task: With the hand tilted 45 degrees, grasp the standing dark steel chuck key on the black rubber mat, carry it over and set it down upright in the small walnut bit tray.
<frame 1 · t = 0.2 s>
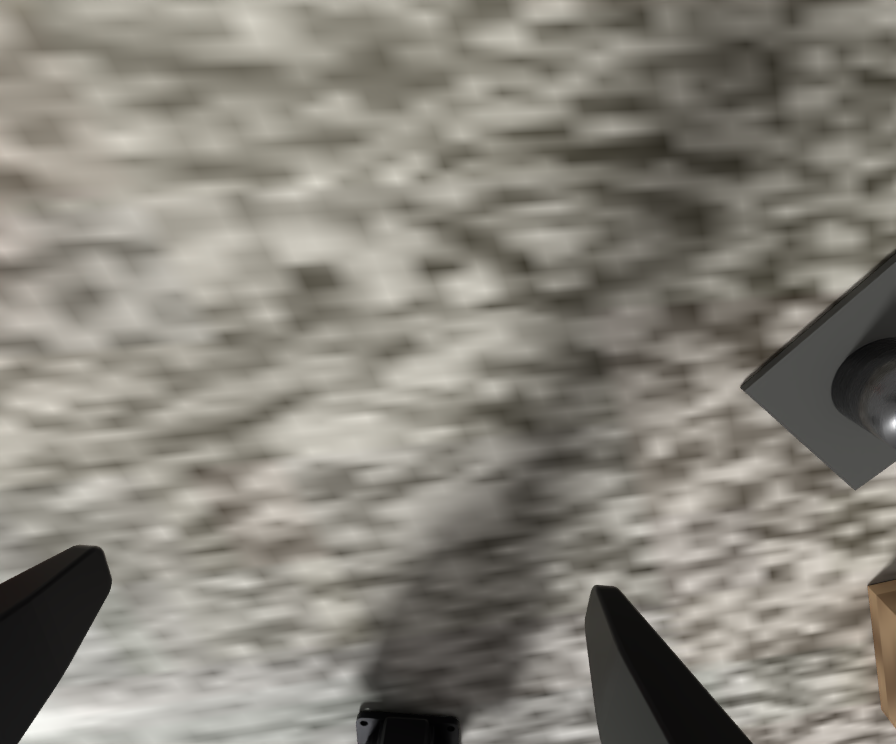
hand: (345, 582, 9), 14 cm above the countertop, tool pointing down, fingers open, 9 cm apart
chuck key: (880, 381, 22), resting on mat
mat: (873, 377, 22), on the countertop
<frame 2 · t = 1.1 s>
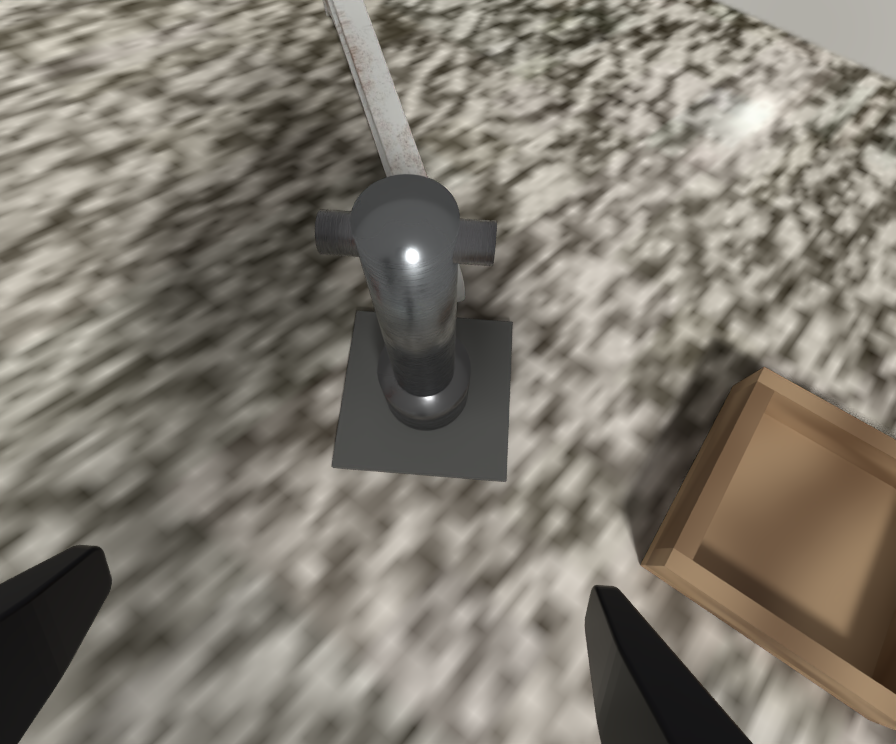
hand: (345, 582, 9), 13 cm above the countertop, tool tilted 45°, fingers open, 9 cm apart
tray: (793, 534, 22), on the countertop
chuck key: (426, 390, 24), resting on mat
wrench: (375, 115, 31), on the countertop
mat: (427, 392, 24), on the countertop
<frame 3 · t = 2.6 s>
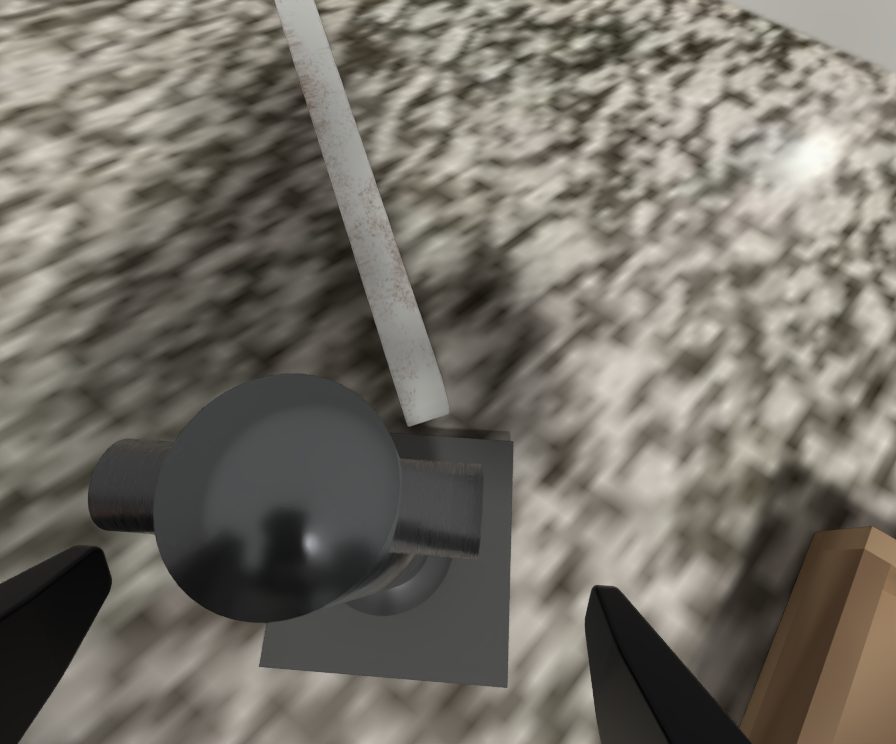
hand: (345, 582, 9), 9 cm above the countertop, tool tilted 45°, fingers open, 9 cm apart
chuck key: (396, 545, 17), resting on mat
wrench: (340, 158, 25), on the countertop
mat: (397, 545, 18), on the countertop
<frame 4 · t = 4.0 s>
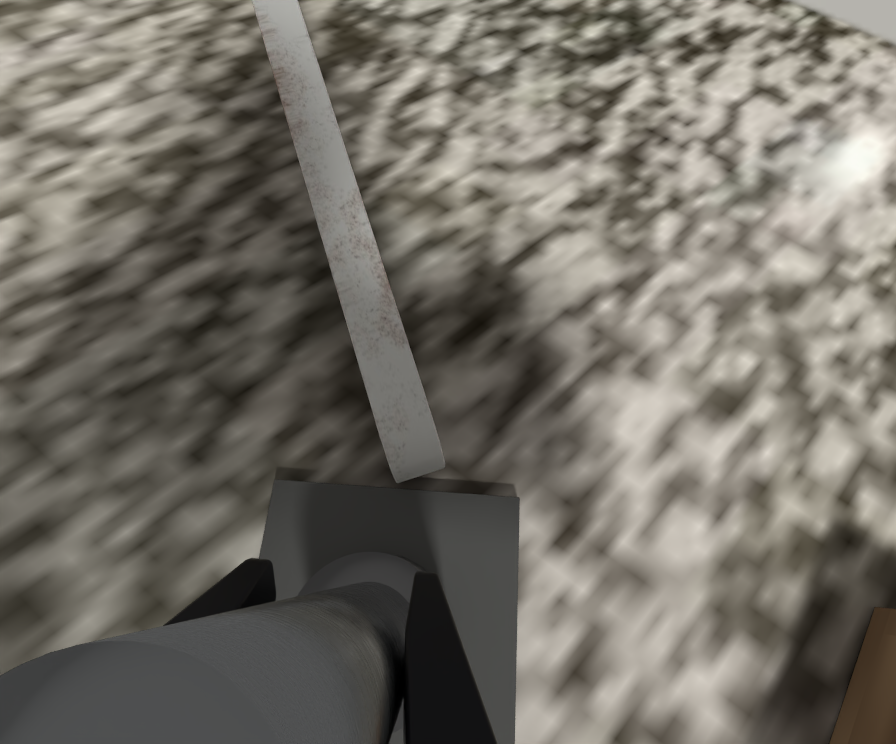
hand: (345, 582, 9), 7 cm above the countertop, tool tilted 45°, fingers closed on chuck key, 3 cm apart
chuck key: (381, 625, 15), resting on mat, touching gripper
wrench: (325, 162, 22), on the countertop
mat: (383, 624, 15), on the countertop
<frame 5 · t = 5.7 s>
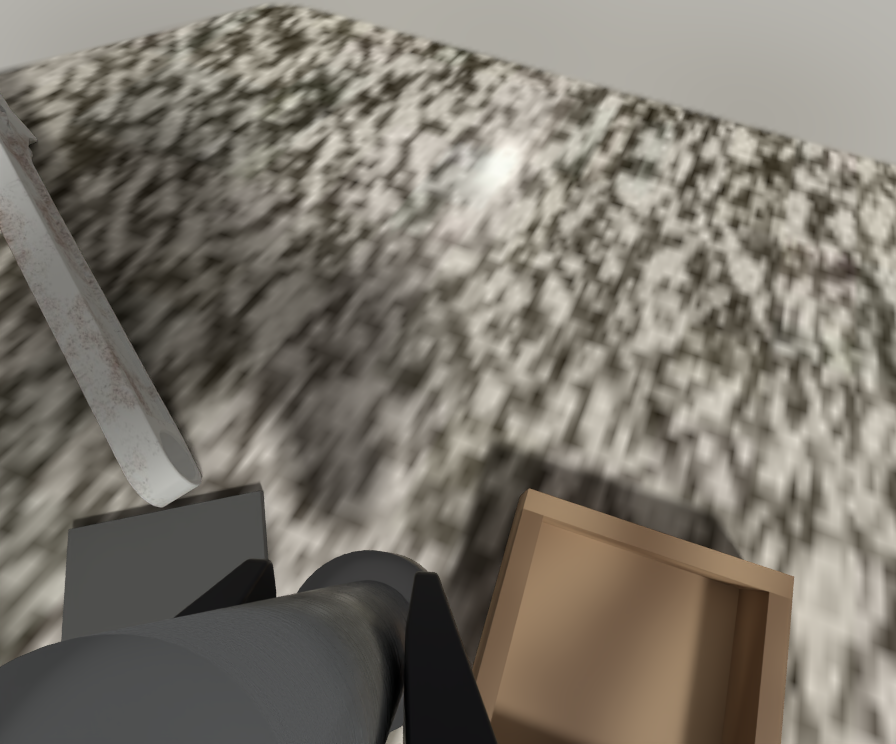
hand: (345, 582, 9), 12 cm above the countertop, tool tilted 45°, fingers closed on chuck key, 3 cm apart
tray: (608, 661, 19), on the countertop
chuck key: (380, 624, 15), point 6 cm above the countertop, touching gripper
wrench: (83, 264, 27), on the countertop
mat: (170, 610, 20), on the countertop
when the fingers open (9 cm above the countertop, at t = 7.4 s): chuck key drops 1 cm, resting on tray.
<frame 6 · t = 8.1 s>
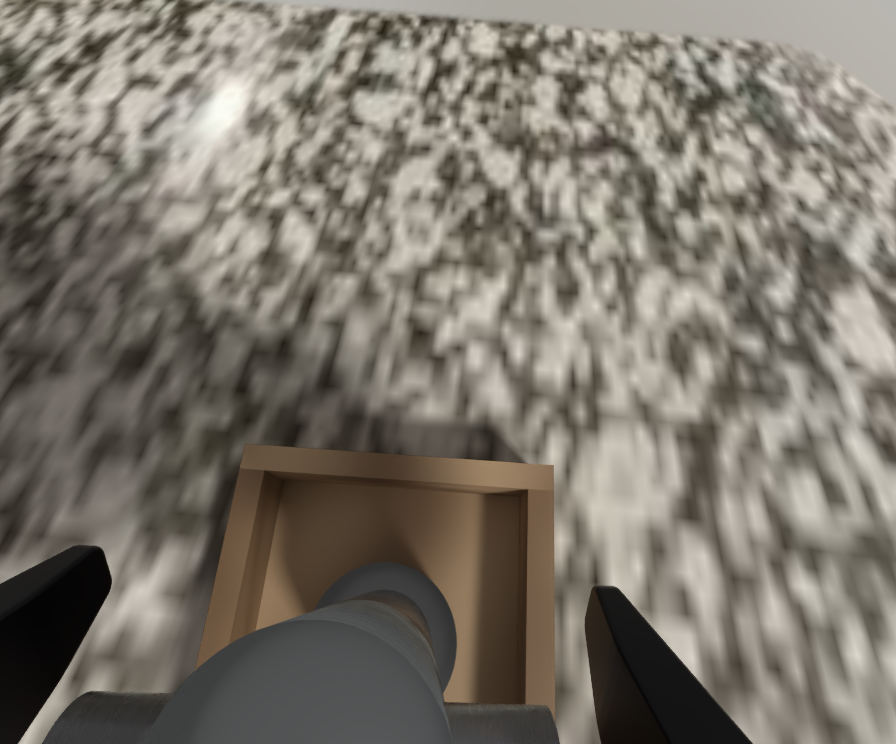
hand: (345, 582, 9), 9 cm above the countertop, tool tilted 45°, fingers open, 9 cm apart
tray: (389, 618, 17), on the countertop
chuck key: (387, 631, 16), point 1 cm above the countertop, touching tray
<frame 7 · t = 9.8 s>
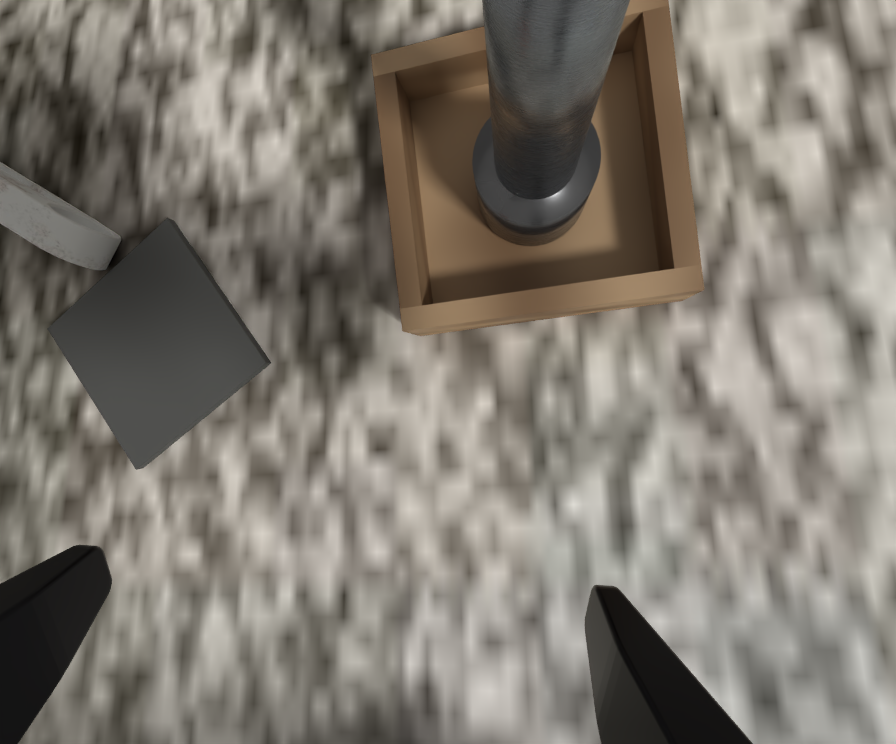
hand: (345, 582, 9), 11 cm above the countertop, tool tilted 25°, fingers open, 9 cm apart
tray: (529, 191, 19), on the countertop
chuck key: (531, 193, 19), point 1 cm above the countertop, touching tray
mat: (158, 345, 23), on the countertop
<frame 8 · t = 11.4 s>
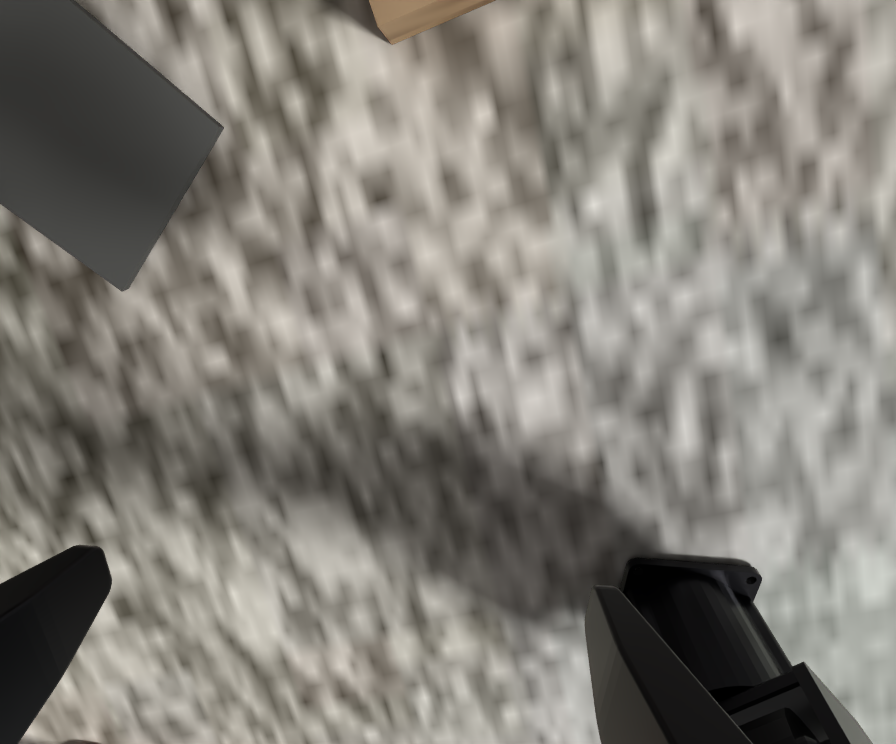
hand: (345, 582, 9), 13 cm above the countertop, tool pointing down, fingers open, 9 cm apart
mat: (78, 140, 19), on the countertop
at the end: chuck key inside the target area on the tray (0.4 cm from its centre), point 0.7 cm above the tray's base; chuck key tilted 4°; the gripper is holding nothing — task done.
